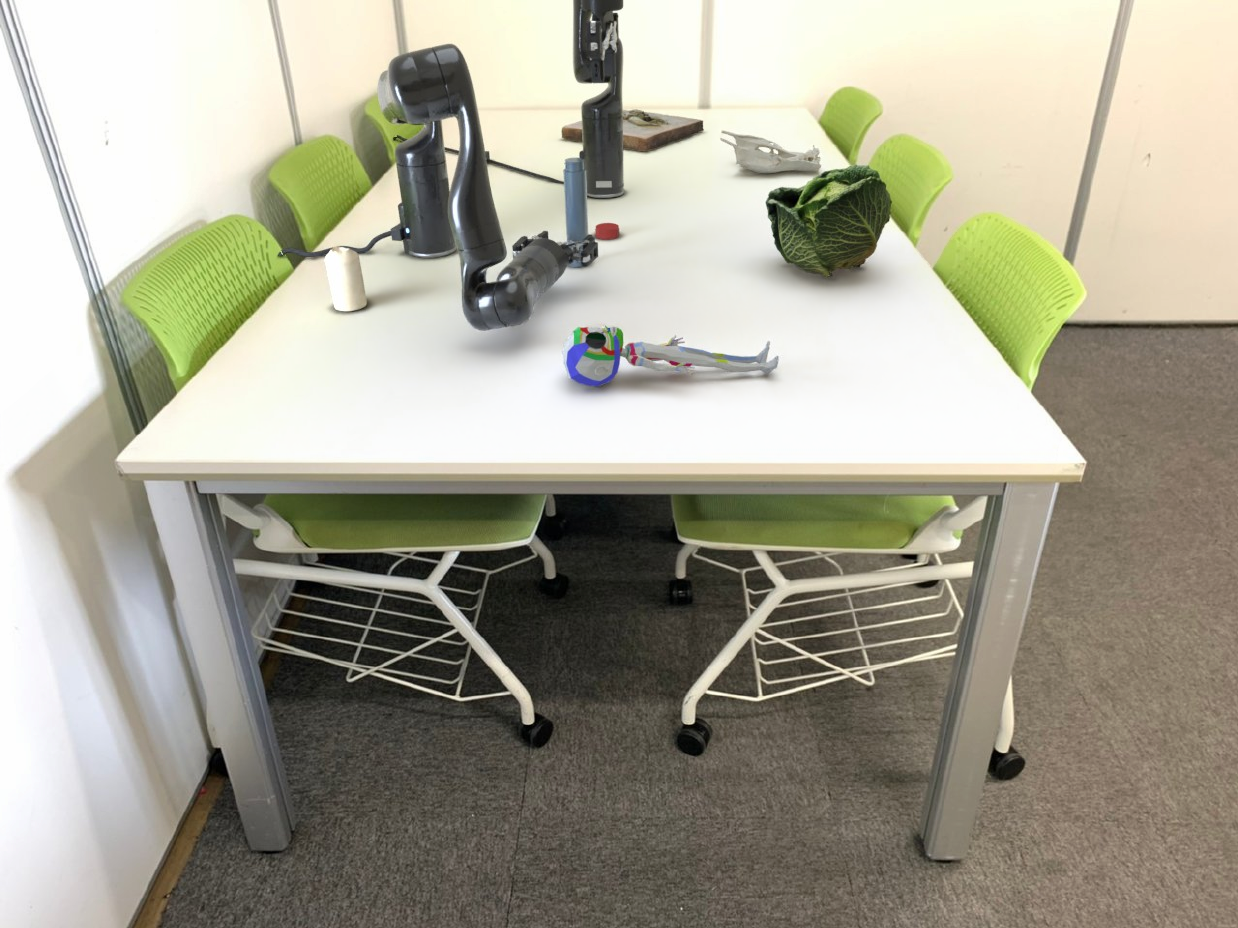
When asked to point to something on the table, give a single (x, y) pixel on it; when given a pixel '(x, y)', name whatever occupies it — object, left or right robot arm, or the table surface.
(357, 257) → the candle
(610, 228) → the lid
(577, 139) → the plaque
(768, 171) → the anatomical model
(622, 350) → the toy
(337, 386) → the table surface
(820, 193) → the vegetable
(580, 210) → the blue cylindrical tube
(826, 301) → the table surface
